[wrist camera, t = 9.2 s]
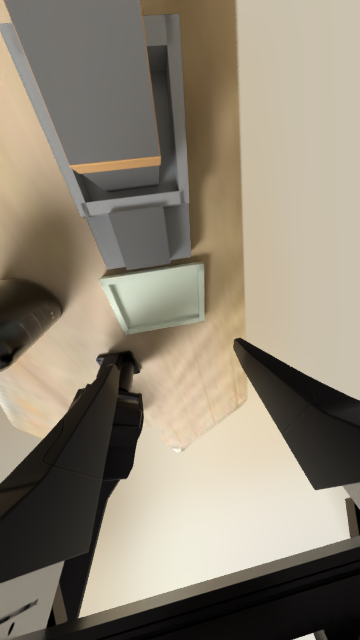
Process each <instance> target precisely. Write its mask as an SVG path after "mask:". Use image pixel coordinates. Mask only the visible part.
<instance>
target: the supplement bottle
mask: <svg viewBox="0 0 360 640" xmlns="http://www.w3.org/2000/svg"><path fill="white" fill-rule="evenodd" d="M60 315H61V307H60V304H59V302H58V301H57V299H56V298H55V297H54V296H53V295H52V294H51V293H50V292H49V291H48V290H46V289H45V288H43V287H41V286H39V285H37V284H35V283H32V282H30V281H26V280H21V279H5V280H1V281H0V372H2V371H4V370H6V369H7V368H9V367H10V366H11V365H12V364H13V363H15V362H16V361H17V360H18V359H19V358H20V357H21V356H22V355H23V354H24V353H25V352H26V351H27V350H28V349H29V348H30V347H31V346H32V345H33V344H34V343H35V342H36V341H37V340H38V339H39V338H40V337H41V336H42V335H43V334H44V333H45V332H46V331H47V330H48V329H49V328H50V327H51V326H52V325H53V324H54V323H55V322H56V321H57V320H58V319H59V318H60Z"/></svg>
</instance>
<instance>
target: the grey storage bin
mask: <svg viewBox="0 0 360 640" xmlns="http://www.w3.org/2000/svg"><path fill="white" fill-rule="evenodd" d="M143 20H144V28H145V36H146V44H147V52H148V60H149V68H150V76H151V84H152V91H153V99H154V107H155V115H156V123H157V131H158V139H159V147H160V155H161V164H160V165H159V186H154V187H145V188H136V189H128V190H119V191H111V192H106V191H105V190H103V189H102V188H101V187H99V186H98V185H96V184H95V183H94V182H92V181H91V180H89V179H88V178H87V177H85V176H84V175H83V174H79V173H77V172H76V171H74V170H73V169H72V168H70V166H69V164H68V161H67V159H66V156H65V154H64V151H63V149H62V146H61V144H60V141H59V139H58V136H57V134H56V131H55V129H54V126H53V124H52V121H51V119H50V116H49V114H48V111H47V109H46V106H45V104H44V101H43V99H42V96H41V94H40V91H39V89H38V86H37V84H36V81H35V79H34V76H33V74H32V71H31V69H30V66H29V64H28V61H27V59H26V56H25V53H24V51H23V48H22V46H21V43H20V41H19V38H18V36H17V33H16V31H15V28H14V26H13V23H1V24H0V32H1V34H2V37H3V39H4V41H5V43H6V46H7V48H8V50H9V53H10V55H11V57H12V60H13V62H14V64H15V67H16V69H17V71H18V73H19V76H20V78H21V80H22V83H23V85H24V87H25V90H26V92H27V94H28V97H29V99H30V101H31V103H32V106H33V108H34V110H35V113H36V115H37V117H38V120H39V122H40V124H41V127H42V129H43V131H44V133H45V136H46V138H47V140H48V143H49V145H50V147H51V150H52V152H53V154H54V157H55V159H56V161H57V164H58V166H59V168H60V170H61V173H62V175H63V177H64V180H65V182H66V184H67V187H68V189H69V191H70V194H71V196H72V198H73V200H74V203H75V205H76V207H77V210H78V212H79V214H80V217H86V219H87V222H88V224H89V227H90V229H91V231H92V234H93V236H94V239H95V241H96V243H97V246H98V248H99V251H100V253H101V255H102V258H103V260H104V263H105V265H106V267H107V270H108V269H115V268H121V267H126V269H127V270H132V269H138V268H145V267H152V266H158V265H165V264H171V260H174V259H181V258H187V257H191V241H190V223H189V205H188V203H190V202H189V183H188V164H187V145H186V126H185V107H184V89H183V70H182V51H181V32H180V14H164V15H146V16H143Z"/></svg>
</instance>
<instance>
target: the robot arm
mask: <svg viewBox="0 0 360 640" xmlns="http://www.w3.org/2000/svg"><path fill="white" fill-rule="evenodd" d="M233 348H234V351H235V353H236V355H237V357H238V359H239V362H240V364H241V366H242V368H243V370H244V371H245V373H246V375H247V377H248V378H249V380H250V382H251V383H252V385H253V387H254V388H255V390H256V392H257V393H258V395H259V397H260V398H261V400H262V402H263V403H264V405H265V407H266V409H267V410H268V412H269V414H270V415H271V417H272V419H273V420H274V422H275V424H276V425H277V427H278V429H279V430H280V432H281V434H282V436H283V438H284V439H285V441H286V443H287V444H288V446H289V448H290V449H291V451H292V453H293V454H294V456H295V458H296V459H297V461H298V463H299V465H300V466H301V468H302V470H303V471H304V473H305V475H306V476H307V478H308V480H309V481H310V483H311V485H312V486H313V488H314V489H315V490H319V489H325V488H331V487H337V486H343V487H344V489H345V490H346V491H347V492H348V494H349V495H350V498H346V499H345V501H346V509H347V516H348V524H349V532H350V537H351V538H350V539H347V540H343V541H340V542H336V543H333V544H330V545H326V546H323V547H320V548H316V549H313V550H309V551H306V552H302V553H299V554H296V555H293V556H289V557H285V558H282V559H279V560H275V561H272V562H269V563H265V564H262V565H258V566H255V567H252V568H248V569H245V570H241V571H238V572H235V573H231V574H228V575H224V576H221V577H218V578H214V579H211V580H207V581H204V582H201V583H197V584H194V585H191V586H187V587H184V588H180V589H177V590H174V591H170V592H167V593H163V594H160V595H157V596H153V597H150V598H146V599H143V600H140V601H136V602H133V603H129V604H126V605H123V606H119V607H116V608H113V609H109V610H106V611H102V612H99V613H95V614H92V615H89V616H86V617H82V618H79V619H78V617H79V613H80V609H81V604H82V601H83V597H84V593H85V589H86V585H87V581H88V577H89V573H90V569H91V565H92V561H93V556H94V552H95V548H96V544H97V540H98V536H99V532H100V528H101V524H102V520H103V516H104V512H105V508H106V504H107V501H108V498H109V497H110V495H111V493H112V492H113V490H114V489H115V487H116V486H117V484H118V482H119V481H120V479H126V478H127V477H128V476H129V474H130V471H131V469H132V467H133V463H134V457H135V450H136V445H137V440H138V438H139V436H140V434H141V431H142V427H143V420H144V415H143V403H142V394H141V393H138V394H137V393H132V392H131V387H132V381H133V375H134V374H138V373H140V368H139V366H138V364H137V362H136V360H135V358H134V356H133V354H132V352H130V351H128V352H122V353H117V354H111V355H106V356H101V357H97V359H96V361H97V363H98V364H99V365H100V369H99V371H98V374H97V376H96V377H97V378H96V380H95V381H94V382H93V383H92V384H87V385H86V387H85V388H83V389H79V390H78V391H77V393H76V396H75V398H74V400H73V402H72V404H71V406H70V408H69V410H68V412H67V413H66V414H65V415H64V417H63V418H62V419H61V420H60V421H59V422H58V423H57V425H56V426H55V427H54V428H53V429H52V430H51V431H50V432H49V434H48V435H47V436H46V437H45V438H44V439H43V440H42V441H41V442H40V443H39V444H38V445H37V446H36V447H35V449H34V450H33V451H32V452H31V453H30V454H29V455H28V456H27V457H26V458H25V459H24V460H23V461H22V462H21V463H20V464H19V465H18V466H17V467H16V468H15V469H14V470H13V472H11V474H10V475H9V476H8V477H7V478H6V479H5V480H4V481H3V482H1V483H0V640H293V639H296V638H299V637H302V636H305V635H308V634H311V633H314V636H315V639H316V640H360V400H357V399H355V398H352V397H350V396H348V395H346V394H344V393H342V392H340V391H338V390H335V389H334V388H331V387H329V386H327V385H325V384H323V383H321V382H319V381H317V380H315V379H313V378H311V377H309V376H307V375H305V374H304V373H302V372H300V371H298V370H296V369H295V368H293V367H290V366H289V365H287V364H286V363H284V362H282V361H280V360H279V359H277V358H275V357H273V356H272V355H270V354H268V353H266V352H264V351H263V350H261V349H259V348H257V347H256V346H254V345H252V344H250V343H248V342H247V341H245V340H243V339H242V338H236V339H234V345H233Z"/></svg>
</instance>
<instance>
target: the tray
mask: <svg viewBox="0 0 360 640" xmlns="http://www.w3.org/2000/svg"><path fill="white" fill-rule="evenodd" d="M99 281H100V283H101V285H102V287H103V290H104V292H105V294H106V296H107V298H108V300H109V302H110V304H111V306H112V309H113V311H114V313H115V315H116V317H117V319H118V321H119V323H120V326H121V328H122V330H123V332H124V334H125V335H129V334H134V333H140V332H146V331H151V330H157V329H163V328H168V327H174V326H180V325H185V324H191V323H196V322H202V321H204V263H203V262H202V261H200V262H193V263H187V264H180V265H174V266H167V267H161V268H154V269H148V270H141V271H135V272H128V273H122V274H115V275H109V276H102V277H101V278H100V279H99Z"/></svg>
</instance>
